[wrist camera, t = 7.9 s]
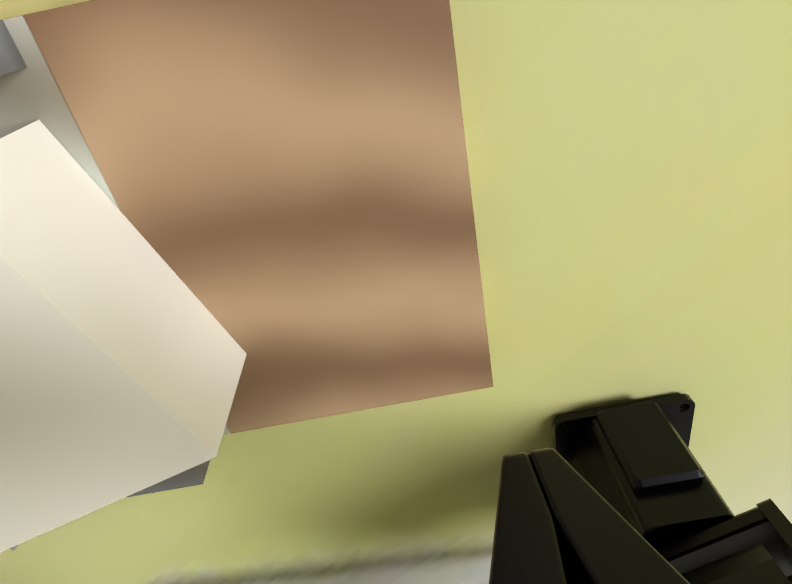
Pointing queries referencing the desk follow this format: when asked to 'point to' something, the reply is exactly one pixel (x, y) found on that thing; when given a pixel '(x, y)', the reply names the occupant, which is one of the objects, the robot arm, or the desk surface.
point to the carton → (93, 349)
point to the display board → (280, 182)
